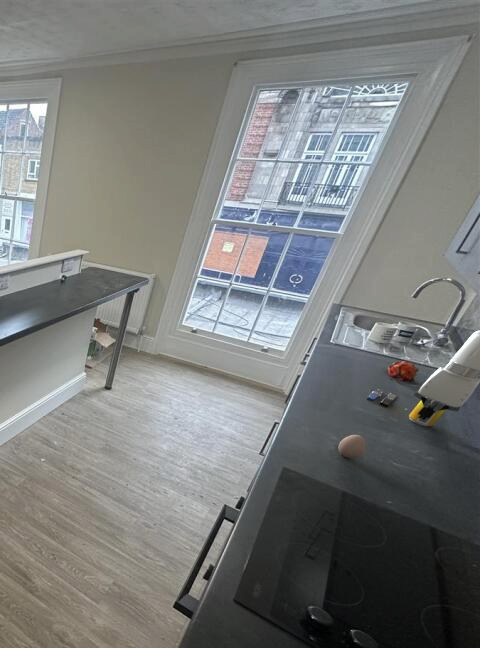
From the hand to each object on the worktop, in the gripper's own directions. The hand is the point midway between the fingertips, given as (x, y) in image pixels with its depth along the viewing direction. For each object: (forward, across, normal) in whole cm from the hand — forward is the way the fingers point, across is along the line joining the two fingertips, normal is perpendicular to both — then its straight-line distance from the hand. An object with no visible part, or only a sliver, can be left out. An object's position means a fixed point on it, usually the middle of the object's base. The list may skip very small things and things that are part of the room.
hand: (421, 417), depth 133 cm
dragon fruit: (+3, +12, -43) cm, 45 cm away
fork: (+3, +14, -15) cm, 20 cm away
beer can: (+3, 0, -5) cm, 6 cm away
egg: (+4, +8, +46) cm, 47 cm away
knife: (+3, +10, -15) cm, 18 cm away
